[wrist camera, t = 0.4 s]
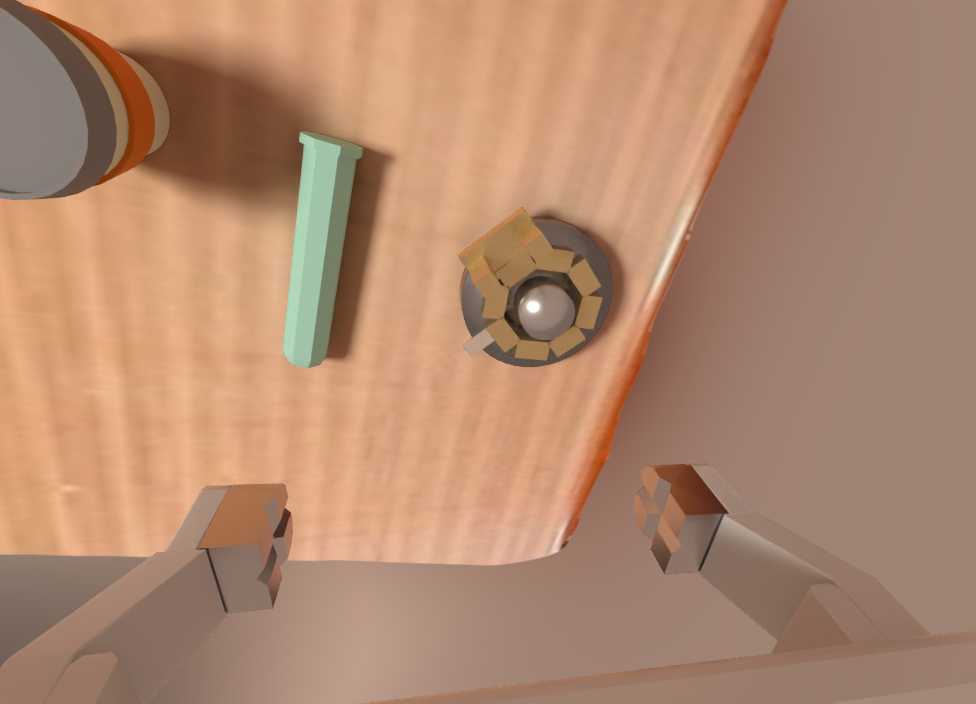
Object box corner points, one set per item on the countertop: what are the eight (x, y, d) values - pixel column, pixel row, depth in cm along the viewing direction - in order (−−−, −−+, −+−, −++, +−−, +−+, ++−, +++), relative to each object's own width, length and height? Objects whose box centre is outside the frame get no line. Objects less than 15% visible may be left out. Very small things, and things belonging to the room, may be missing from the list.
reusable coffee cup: (154, 12, 39) (21, -38, 26) (212, 168, 45) (129, 191, 32) (0, 30, 38) (-218, -14, 25) (81, 185, 44) (-61, 216, 31)
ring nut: (614, 310, 55) (638, 335, 49) (522, 371, 57) (535, 402, 51) (541, 192, 47) (560, 204, 41) (440, 268, 50) (443, 290, 43)
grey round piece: (472, 205, 50) (480, 219, 44) (621, 228, 54) (649, 245, 47) (450, 349, 58) (455, 379, 52) (581, 361, 62) (601, 391, 55)
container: (311, 382, 51) (344, 149, 40) (265, 363, 52) (285, 128, 41) (339, 361, 56) (375, 150, 46) (297, 344, 57) (322, 132, 46)
